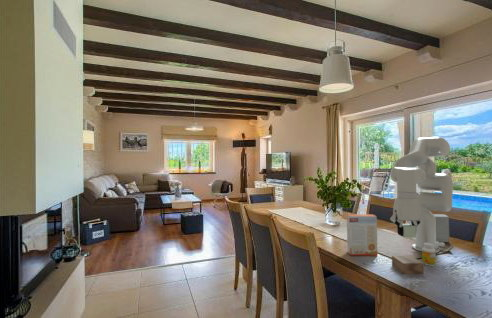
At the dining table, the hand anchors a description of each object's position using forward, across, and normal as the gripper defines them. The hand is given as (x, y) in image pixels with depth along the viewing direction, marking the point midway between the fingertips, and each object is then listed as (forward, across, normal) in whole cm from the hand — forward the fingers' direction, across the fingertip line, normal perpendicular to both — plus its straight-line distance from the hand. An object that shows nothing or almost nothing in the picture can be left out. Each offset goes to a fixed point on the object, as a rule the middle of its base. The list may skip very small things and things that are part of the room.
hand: (406, 234), depth 121 cm
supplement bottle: (+16, -14, -6) cm, 22 cm away
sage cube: (+1, 0, 0) cm, 1 cm away
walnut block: (+16, 0, 0) cm, 16 cm away
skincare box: (+16, -44, -40) cm, 62 cm away
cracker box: (+16, +12, -20) cm, 28 cm away
